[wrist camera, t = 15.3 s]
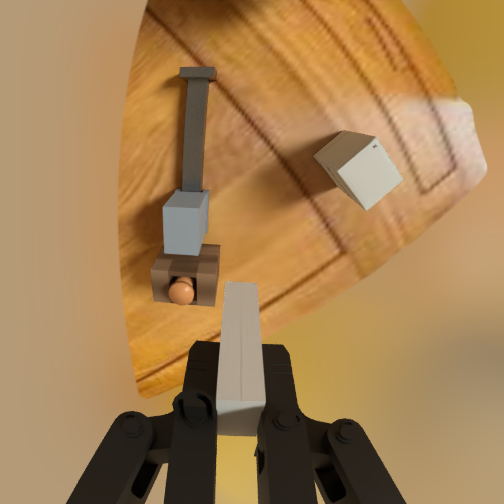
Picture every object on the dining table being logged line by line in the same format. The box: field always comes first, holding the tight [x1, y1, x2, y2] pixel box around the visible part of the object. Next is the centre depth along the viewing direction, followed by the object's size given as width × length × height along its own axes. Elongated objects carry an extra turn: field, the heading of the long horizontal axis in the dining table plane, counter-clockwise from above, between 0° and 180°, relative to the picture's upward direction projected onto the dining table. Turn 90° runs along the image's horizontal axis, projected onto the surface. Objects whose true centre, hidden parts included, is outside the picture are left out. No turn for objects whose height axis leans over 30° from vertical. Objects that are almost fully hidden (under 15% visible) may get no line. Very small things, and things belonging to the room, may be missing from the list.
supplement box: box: [313, 130, 403, 211], centre depth 38 cm, size 7×7×13 cm
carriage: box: [163, 189, 209, 256], centre depth 42 cm, size 7×5×10 cm
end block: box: [150, 244, 220, 307], centre depth 47 cm, size 6×10×10 cm, turn 85°
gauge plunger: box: [169, 276, 195, 305], centre depth 43 cm, size 4×4×6 cm
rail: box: [179, 67, 217, 193], centre depth 41 cm, size 30×5×4 cm, turn 175°
